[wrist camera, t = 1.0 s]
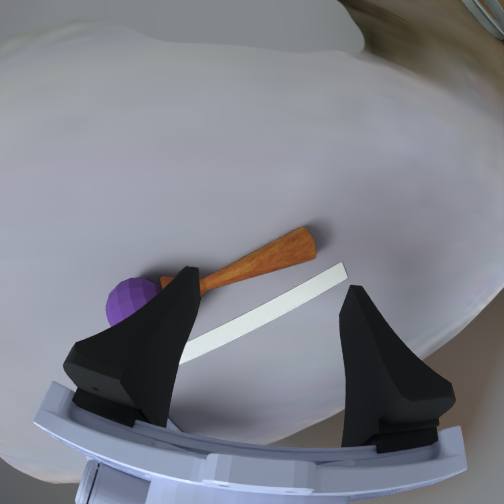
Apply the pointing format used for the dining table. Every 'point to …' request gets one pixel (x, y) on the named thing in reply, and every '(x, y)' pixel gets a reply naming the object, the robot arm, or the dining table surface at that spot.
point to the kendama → (216, 273)
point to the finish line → (263, 313)
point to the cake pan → (488, 16)
